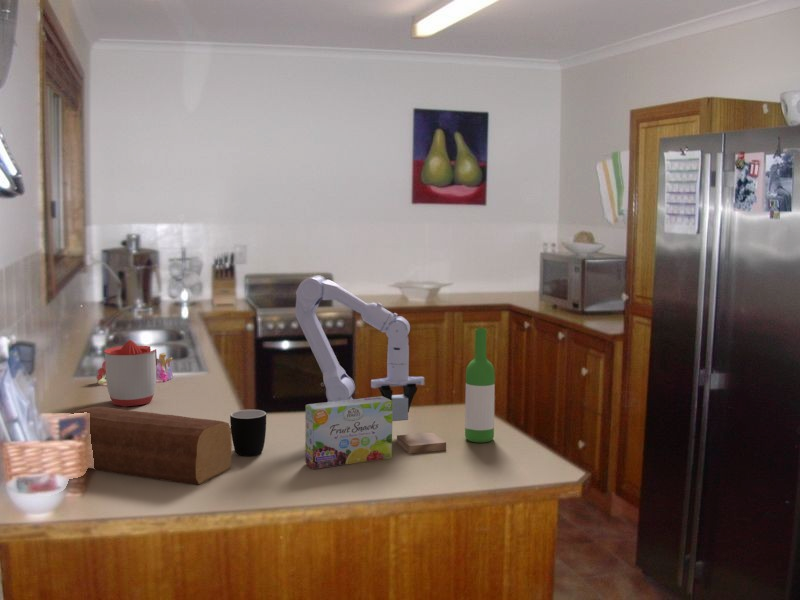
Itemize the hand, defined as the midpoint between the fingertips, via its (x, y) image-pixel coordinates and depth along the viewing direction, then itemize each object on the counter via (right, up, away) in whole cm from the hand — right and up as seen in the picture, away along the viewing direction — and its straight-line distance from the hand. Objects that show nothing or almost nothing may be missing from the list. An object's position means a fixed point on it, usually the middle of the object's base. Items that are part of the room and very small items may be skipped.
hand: (397, 412), depth 232 cm
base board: (+6, -8, -8) cm, 13 cm away
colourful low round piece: (-92, +2, +73) cm, 118 cm away
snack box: (-12, -10, -20) cm, 25 cm away
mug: (-39, -9, -12) cm, 42 cm away
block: (0, -2, 0) cm, 2 cm away
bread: (-60, -10, -25) cm, 66 cm away
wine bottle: (+22, -7, -1) cm, 23 cm away
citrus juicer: (-83, -2, +39) cm, 92 cm away
